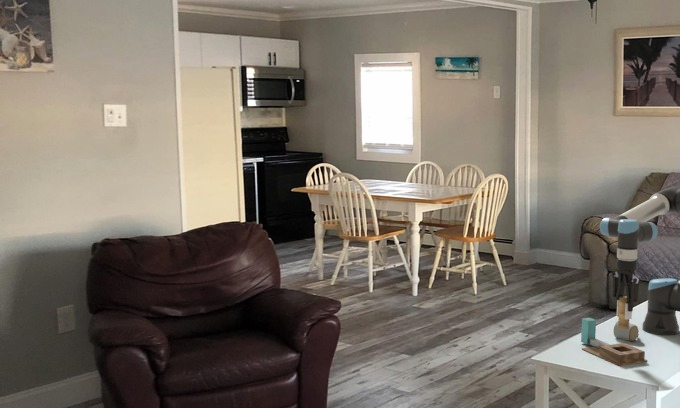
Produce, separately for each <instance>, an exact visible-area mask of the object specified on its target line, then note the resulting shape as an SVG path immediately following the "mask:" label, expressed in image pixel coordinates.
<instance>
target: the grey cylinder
mask: <svg viewBox="0 0 680 408" xmlns="http://www.w3.org/2000/svg"><path fill="white" fill-rule="evenodd" d="M613 335H614V337H615V338H617V339H619V340H620V339H621V340H626V341H629V342H634V341H635V340H636V339H637V338H639V327H638V326H637V325H635V324H634V323H631V322H629V328H628V329H621V328H618V320H617V321H616V322H615V324H614V326H613Z"/></svg>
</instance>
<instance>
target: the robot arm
mask: <svg viewBox="0 0 680 408" xmlns="http://www.w3.org/2000/svg"><path fill="white" fill-rule="evenodd" d="M669 213H670V214H679V215H680V186H678V185H677V186H672V187H668V188H665V189H663V190H660V191H657V192H655V193H654V194H652V195H651V196H650V197H649V199H648V200H646V201H644V202H642V203H640V204H638V205H636V206H635V207H632V208H631V209H629V210H627V211H625V212H624V213H621V214H620V215H618V216H615V217H614V218H613V217H605V218H603V219H602V220H600V223H599V232H600V234H602V235H603V236H606V237H609V238H610V237H611V238H617V244H616V245H617V247H616V258H617V259H616V264H615V265H616V266H615V267H616V269H617V271H613V272H612V273H611V276H612V297H613V298H615V300H616V301H615V303H616V305H615V307H616V317H618V318H619V298H620V297H624V292H625V293H626V294H625V295H626V297H627V302H626V303H625V319H626V320H627V319H629V320H632V318H633V315H632V314H633V310H634V304H635V303H638V302H639V301H638V299H639V286H640V283H641V277H637V276H636V273H635V271H636V270H637V268H638V267H637V266H638V265H637V264H638V261H637V259H638V250H639V249H638V248H639V246H638V244H639V243H643V242H644V243H645V242H650V241H653V240H654V239H656V238H657V237H658V233H659V230H658V226H657V225H656V224H655V223H654V222H652V221H650V220H652V219H654V218H656V217H657V216H663V215H666V214H669ZM647 291H648V292H647V293H648V294H647V311H646V314H645V317H644V321H643V322H642V325H641V326H642V328H641V329H642V330H643V331H644V332H647V333H650V334H655V335H661V336H662V335H664V336H669V335H670V336H671V335H672V336H673V335H677V334H679V333H680V326H679V323H678V319H677V315H676V312H680V279H679V280H678V279H676V278H668V277H667V278H665V277H664V278H663V277H662V278H654V279H651V280H650V281H649V283H648V288H647Z"/></svg>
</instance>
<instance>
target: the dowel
mask: <svg viewBox="0 0 680 408" xmlns="http://www.w3.org/2000/svg"><path fill="white" fill-rule="evenodd" d="M626 302H627V296H623V297H620V298H619V317H618V320H617V321H618V328H621V329H628V328H629V323H630V319H627V320H626V319H625V303H626Z"/></svg>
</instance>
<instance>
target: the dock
mask: <svg viewBox="0 0 680 408" xmlns="http://www.w3.org/2000/svg"><path fill="white" fill-rule="evenodd" d="M614 348H616V350H615V349H614ZM581 350H582V351H584V352H586V353H589V354H591V355H593V356H595V357H598V358H600V359H602V360H604V361H606V362H609V363H611V364H612V365H613V364H614V365H615V366H618V367H621V366H627V365H633V364H640V363H645V362H648V360H647V359H645V358H646V357H645V356H646V355H645V354H646V351H645V350H642V349H640V348H637V347H635V346H632V345H630V344H627V343H624V342H621V343H615V344H614V343H612V344H610V345H606V346H600V348H597V347H595V346H588V347H582V348H581Z"/></svg>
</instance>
